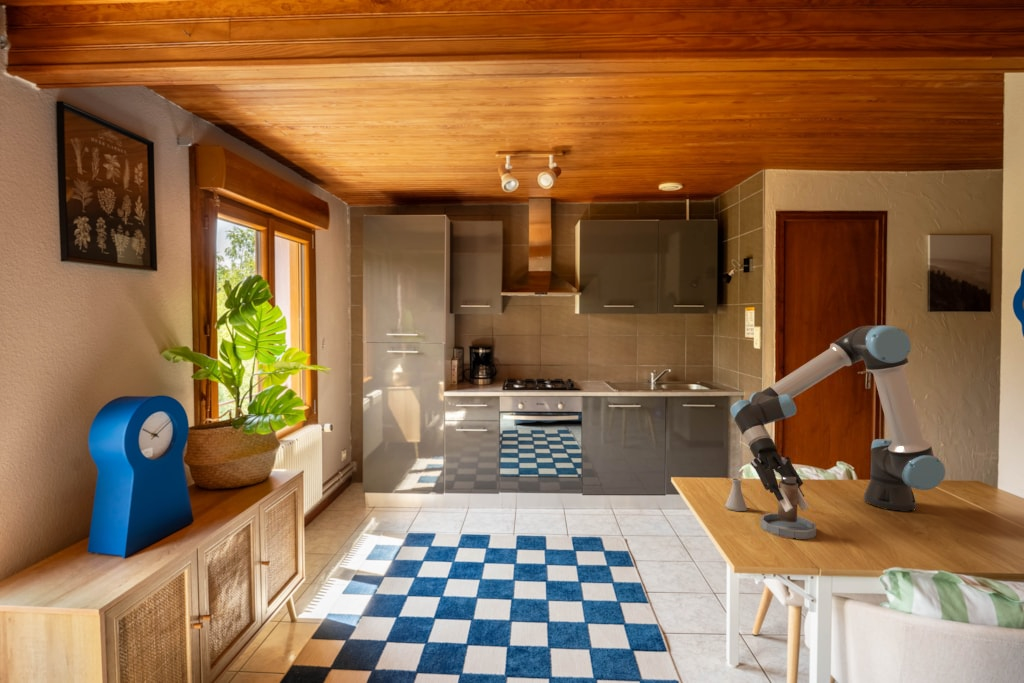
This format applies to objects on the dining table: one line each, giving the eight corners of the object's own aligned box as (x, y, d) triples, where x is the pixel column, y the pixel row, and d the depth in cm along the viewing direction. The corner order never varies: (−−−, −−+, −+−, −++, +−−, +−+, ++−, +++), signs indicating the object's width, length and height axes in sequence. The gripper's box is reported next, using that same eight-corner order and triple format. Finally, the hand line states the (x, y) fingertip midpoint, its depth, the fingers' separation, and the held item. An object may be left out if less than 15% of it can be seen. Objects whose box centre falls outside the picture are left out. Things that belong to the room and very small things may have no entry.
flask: (749, 512, 179) (750, 483, 179) (726, 511, 180) (727, 481, 180) (744, 505, 186) (745, 477, 186) (722, 504, 187) (723, 475, 187)
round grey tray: (799, 521, 172) (799, 513, 172) (826, 539, 157) (827, 531, 157) (752, 520, 172) (752, 513, 172) (775, 539, 157) (775, 531, 157)
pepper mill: (791, 516, 167) (792, 474, 166) (800, 522, 162) (801, 479, 161) (774, 515, 167) (776, 474, 166) (783, 521, 162) (784, 479, 161)
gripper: (777, 447, 181) (814, 512, 165) (730, 450, 176) (765, 517, 161) (789, 435, 175) (829, 501, 160) (742, 437, 171) (778, 505, 155)
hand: (797, 509), depth 160 cm, fingers closed on pepper mill, 5 cm apart
